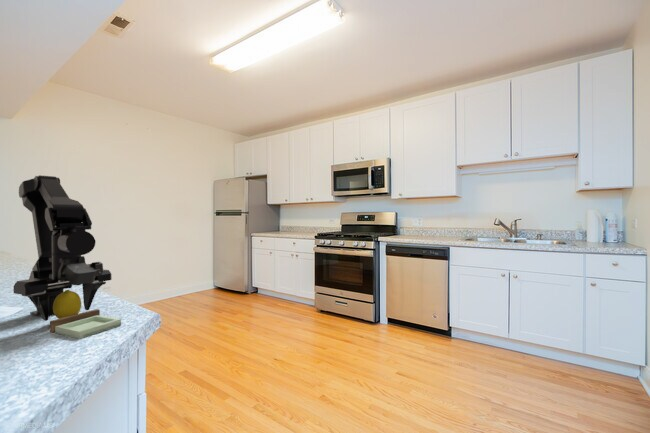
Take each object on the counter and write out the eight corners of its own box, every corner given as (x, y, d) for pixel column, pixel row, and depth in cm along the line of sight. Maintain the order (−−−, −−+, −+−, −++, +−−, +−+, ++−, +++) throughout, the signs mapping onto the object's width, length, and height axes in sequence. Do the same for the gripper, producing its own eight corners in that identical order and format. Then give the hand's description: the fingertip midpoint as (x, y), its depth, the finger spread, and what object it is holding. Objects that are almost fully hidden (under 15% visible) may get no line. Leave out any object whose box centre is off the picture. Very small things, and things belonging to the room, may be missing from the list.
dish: (55, 333, 71) (55, 326, 71) (97, 321, 79) (97, 315, 79) (79, 338, 67) (79, 331, 67) (121, 325, 75) (121, 319, 75)
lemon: (65, 325, 76) (65, 292, 76) (47, 324, 77) (46, 292, 77) (87, 318, 81) (86, 287, 81) (69, 317, 82) (69, 287, 82)
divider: (49, 332, 71) (49, 321, 71) (96, 318, 81) (96, 309, 81) (52, 332, 71) (52, 321, 71) (99, 319, 80) (99, 309, 80)
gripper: (38, 258, 67) (39, 331, 67) (124, 250, 84) (125, 308, 84) (11, 257, 72) (12, 325, 72) (98, 249, 89) (99, 304, 89)
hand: (67, 314), depth 79 cm, fingers open, 9 cm apart
